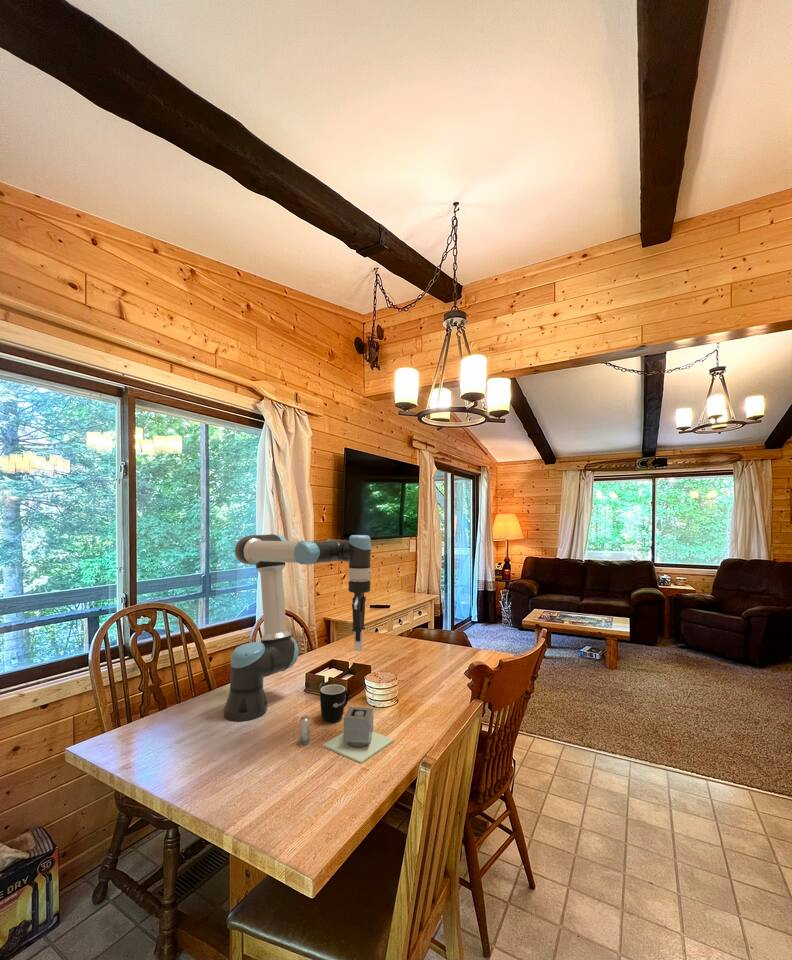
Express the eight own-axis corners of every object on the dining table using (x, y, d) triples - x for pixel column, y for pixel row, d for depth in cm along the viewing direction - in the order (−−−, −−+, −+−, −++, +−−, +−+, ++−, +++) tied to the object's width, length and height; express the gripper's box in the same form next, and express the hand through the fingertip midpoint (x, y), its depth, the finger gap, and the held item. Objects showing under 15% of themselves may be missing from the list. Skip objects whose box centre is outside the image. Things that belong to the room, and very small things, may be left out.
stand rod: (297, 743, 137) (298, 718, 138) (305, 739, 140) (305, 715, 140) (304, 746, 136) (304, 721, 136) (311, 742, 138) (312, 718, 139)
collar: (343, 741, 134) (343, 717, 135) (348, 729, 142) (349, 706, 143) (368, 743, 133) (369, 719, 134) (373, 730, 141) (373, 708, 142)
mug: (331, 727, 148) (331, 696, 149) (314, 719, 154) (314, 689, 155) (356, 715, 158) (356, 686, 158) (339, 708, 163) (339, 680, 164)
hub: (322, 746, 136) (323, 715, 137) (356, 727, 149) (357, 698, 149) (361, 763, 126) (361, 730, 127) (394, 741, 139) (394, 710, 140)
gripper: (366, 583, 143) (365, 656, 141) (373, 577, 156) (372, 645, 154) (344, 582, 144) (343, 655, 142) (352, 577, 157) (351, 644, 155)
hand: (358, 650), depth 148 cm, fingers closed
